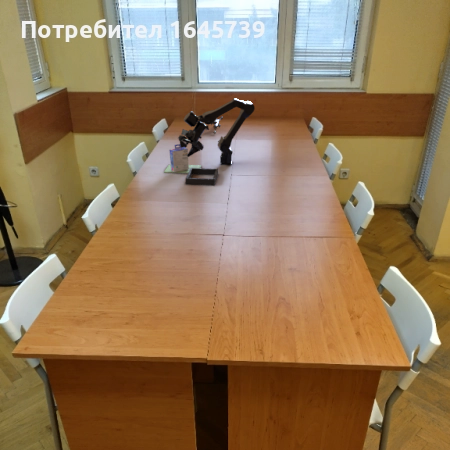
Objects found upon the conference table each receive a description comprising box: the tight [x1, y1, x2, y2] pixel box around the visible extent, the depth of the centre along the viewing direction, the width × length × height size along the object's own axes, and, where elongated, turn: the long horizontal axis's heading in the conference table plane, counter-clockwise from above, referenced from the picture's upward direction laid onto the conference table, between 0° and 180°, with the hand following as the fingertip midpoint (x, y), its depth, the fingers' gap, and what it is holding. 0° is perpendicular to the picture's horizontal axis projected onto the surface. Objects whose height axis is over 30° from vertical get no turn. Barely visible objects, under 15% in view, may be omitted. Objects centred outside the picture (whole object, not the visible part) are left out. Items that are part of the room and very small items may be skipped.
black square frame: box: [185, 167, 219, 186], centre depth 254 cm, size 16×18×4 cm
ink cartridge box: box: [169, 143, 190, 172], centre depth 263 cm, size 10×6×14 cm, turn 119°
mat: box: [163, 163, 202, 174], centre depth 270 cm, size 20×14×1 cm
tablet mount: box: [198, 115, 224, 135], centre depth 346 cm, size 27×14×17 cm
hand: (183, 154), depth 264 cm, fingers open, 9 cm apart
